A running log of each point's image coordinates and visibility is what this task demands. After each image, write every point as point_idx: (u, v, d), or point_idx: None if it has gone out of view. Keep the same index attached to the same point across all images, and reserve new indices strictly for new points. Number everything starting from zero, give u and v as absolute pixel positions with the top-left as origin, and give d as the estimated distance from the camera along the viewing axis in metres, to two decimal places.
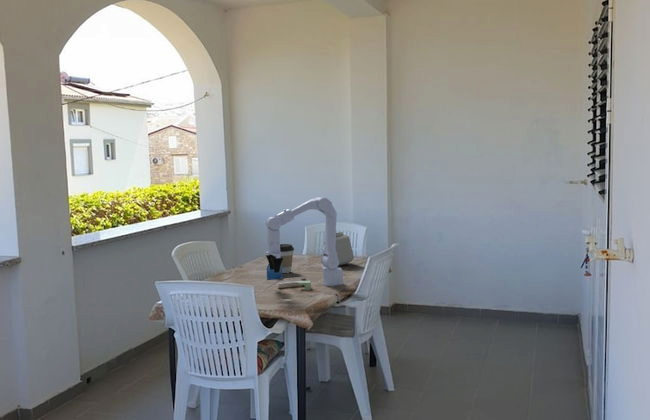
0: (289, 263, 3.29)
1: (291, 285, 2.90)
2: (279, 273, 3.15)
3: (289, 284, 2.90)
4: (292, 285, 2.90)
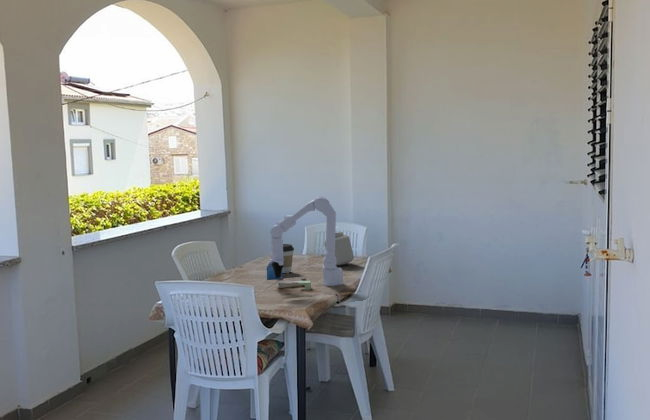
0: (289, 263, 3.29)
1: (291, 285, 2.90)
2: None
3: (289, 284, 2.90)
4: (292, 285, 2.90)
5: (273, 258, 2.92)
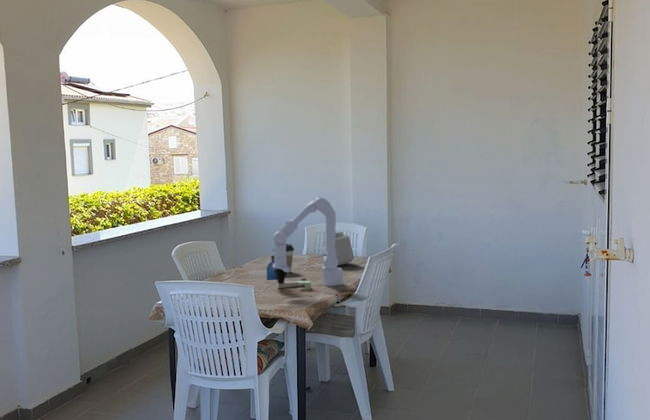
0: (289, 263, 3.29)
1: (291, 285, 2.90)
2: None
3: (289, 284, 2.90)
4: (292, 285, 2.90)
5: (277, 265, 2.88)
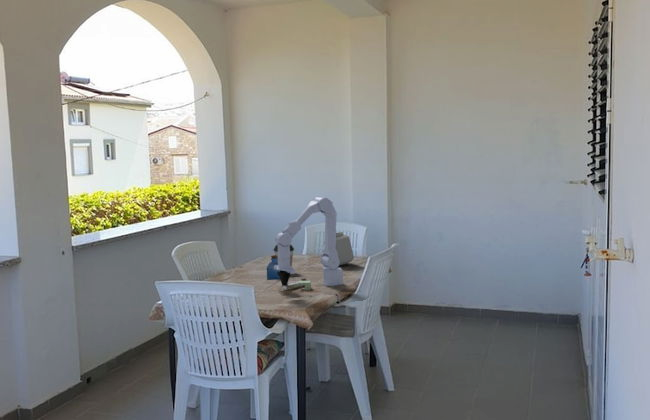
0: None
1: (296, 286, 2.88)
2: None
3: (294, 285, 2.87)
4: (296, 286, 2.88)
5: (282, 267, 2.83)
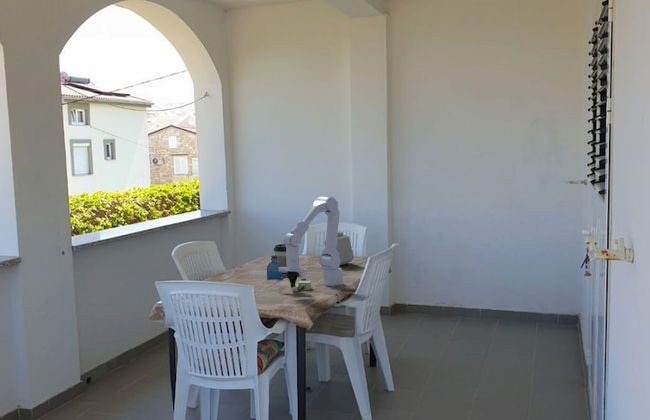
0: None
1: (301, 286, 2.87)
2: (279, 273, 3.15)
3: (301, 286, 2.86)
4: (302, 286, 2.87)
5: (293, 268, 2.80)
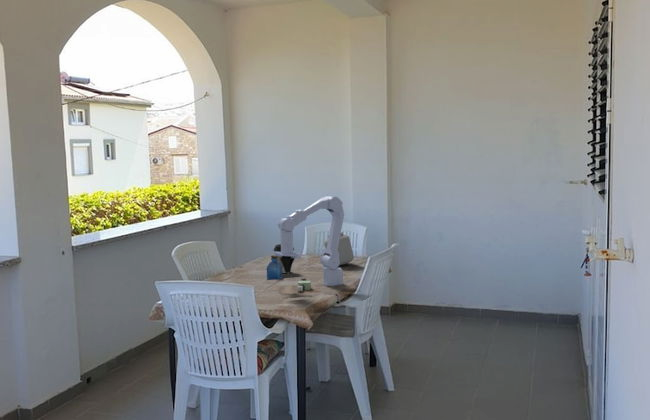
0: None
1: (304, 286, 2.87)
2: (279, 273, 3.15)
3: None
4: (304, 286, 2.87)
5: (286, 252, 2.82)
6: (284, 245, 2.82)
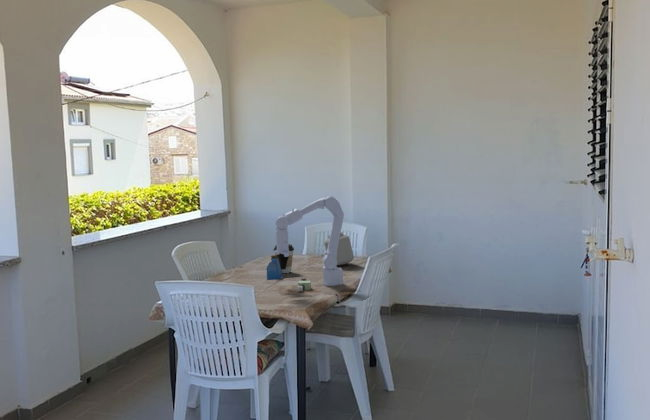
0: (289, 263, 3.29)
1: (304, 286, 2.87)
2: (279, 273, 3.15)
3: None
4: (304, 286, 2.87)
5: (278, 249, 2.90)
6: (277, 242, 2.90)
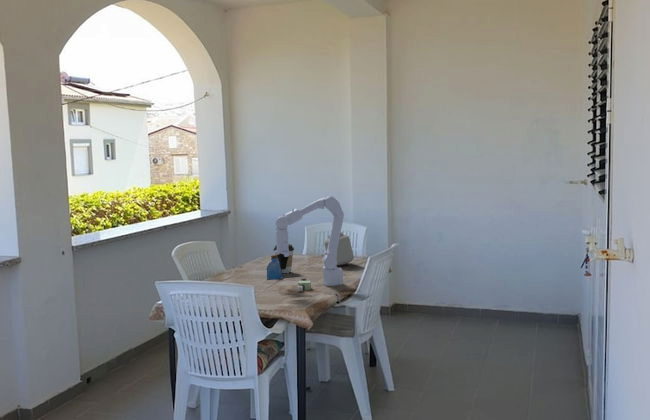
0: (289, 263, 3.29)
1: (304, 286, 2.87)
2: (279, 273, 3.15)
3: None
4: (304, 286, 2.87)
5: (278, 249, 2.90)
6: (277, 242, 2.90)
